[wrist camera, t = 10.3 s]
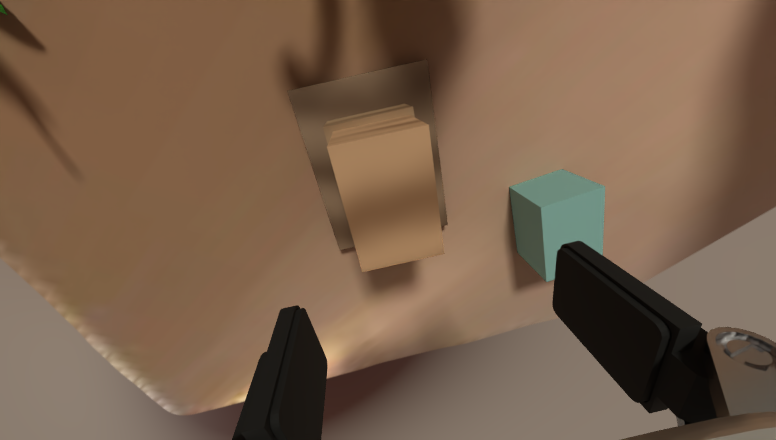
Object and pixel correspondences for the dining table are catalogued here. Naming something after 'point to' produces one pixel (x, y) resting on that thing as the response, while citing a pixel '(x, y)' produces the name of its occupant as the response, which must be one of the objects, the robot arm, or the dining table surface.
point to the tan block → (388, 190)
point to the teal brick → (556, 217)
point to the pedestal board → (358, 102)
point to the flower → (2, 9)
